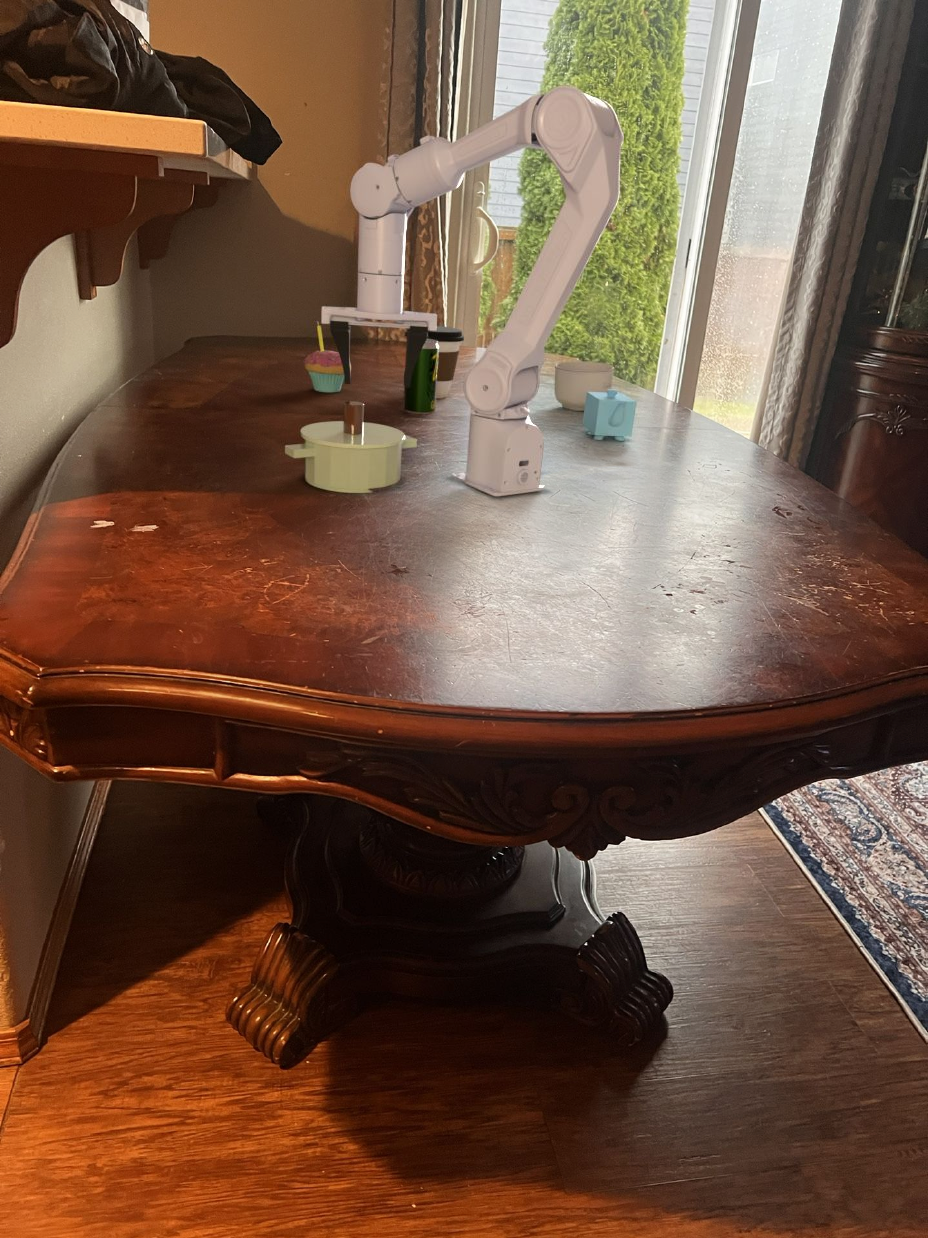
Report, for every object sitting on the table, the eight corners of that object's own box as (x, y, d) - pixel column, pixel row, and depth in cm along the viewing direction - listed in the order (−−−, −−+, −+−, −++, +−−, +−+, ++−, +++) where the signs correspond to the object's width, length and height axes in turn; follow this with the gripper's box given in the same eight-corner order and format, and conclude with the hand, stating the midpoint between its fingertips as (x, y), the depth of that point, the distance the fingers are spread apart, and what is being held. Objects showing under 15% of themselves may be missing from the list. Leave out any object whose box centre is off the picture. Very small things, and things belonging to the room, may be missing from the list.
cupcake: (297, 391, 162) (297, 321, 157) (312, 384, 169) (313, 317, 165) (343, 396, 161) (345, 326, 156) (356, 388, 168) (358, 322, 164)
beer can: (404, 416, 148) (407, 341, 144) (401, 409, 153) (405, 336, 148) (436, 417, 149) (440, 343, 144) (433, 411, 154) (437, 338, 149)
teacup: (612, 416, 162) (618, 370, 159) (552, 411, 162) (557, 366, 158) (602, 402, 175) (608, 360, 171) (547, 398, 174) (551, 355, 171)
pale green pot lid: (424, 449, 108) (426, 410, 106) (331, 457, 101) (332, 416, 99) (371, 426, 117) (372, 391, 115) (282, 433, 110) (282, 395, 108)
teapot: (637, 447, 140) (645, 398, 137) (600, 445, 139) (607, 396, 135) (613, 430, 150) (620, 384, 147) (579, 428, 149) (585, 383, 146)
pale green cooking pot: (435, 484, 111) (438, 441, 109) (312, 499, 102) (312, 453, 100) (386, 462, 120) (388, 422, 118) (268, 474, 110) (267, 430, 108)
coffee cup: (438, 403, 161) (442, 333, 156) (390, 393, 166) (393, 326, 162) (471, 396, 170) (476, 330, 165) (424, 387, 175) (427, 323, 170)
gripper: (436, 275, 116) (430, 382, 122) (323, 267, 114) (322, 376, 120) (440, 279, 110) (434, 391, 115) (321, 270, 108) (320, 385, 113)
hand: (377, 384), depth 117 cm, fingers open, 7 cm apart
